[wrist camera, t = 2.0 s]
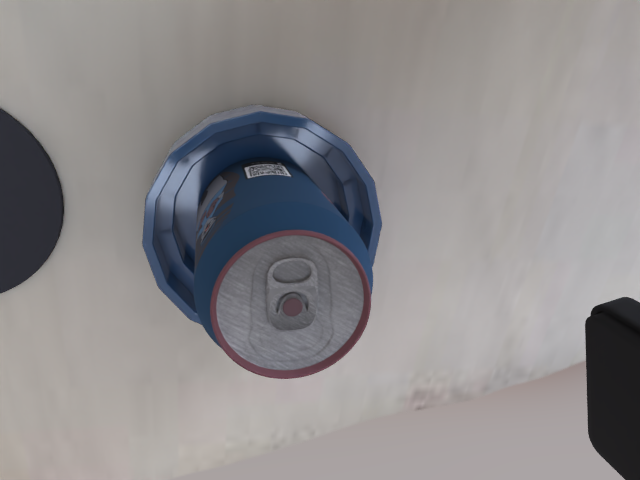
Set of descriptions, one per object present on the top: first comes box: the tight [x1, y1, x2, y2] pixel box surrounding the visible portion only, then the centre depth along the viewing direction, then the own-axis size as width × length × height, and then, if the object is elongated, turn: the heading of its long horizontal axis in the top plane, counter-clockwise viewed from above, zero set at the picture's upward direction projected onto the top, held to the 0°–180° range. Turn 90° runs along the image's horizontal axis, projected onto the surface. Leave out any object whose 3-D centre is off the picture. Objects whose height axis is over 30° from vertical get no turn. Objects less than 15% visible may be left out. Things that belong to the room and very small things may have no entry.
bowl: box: [142, 105, 382, 325], centre depth 28 cm, size 12×12×4 cm
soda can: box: [194, 157, 373, 379], centre depth 24 cm, size 7×7×12 cm
